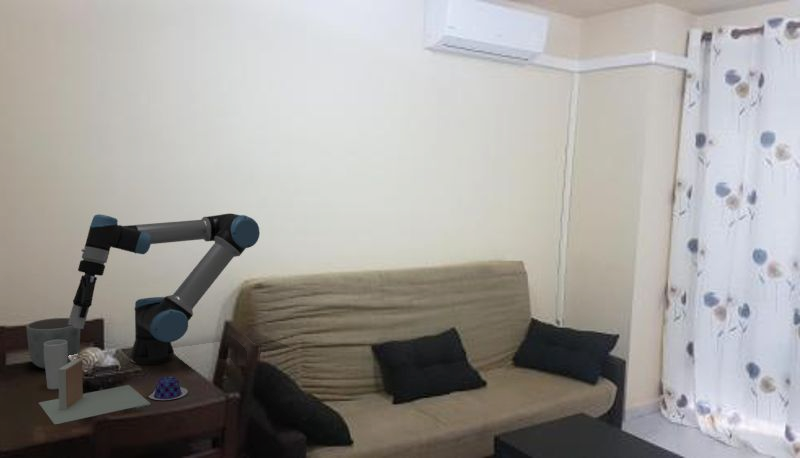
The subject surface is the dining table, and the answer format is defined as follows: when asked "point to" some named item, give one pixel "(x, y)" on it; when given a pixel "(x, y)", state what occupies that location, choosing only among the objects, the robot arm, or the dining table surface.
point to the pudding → (168, 389)
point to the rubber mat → (95, 404)
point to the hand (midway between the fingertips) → (75, 326)
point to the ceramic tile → (70, 383)
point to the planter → (51, 337)
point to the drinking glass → (54, 360)
